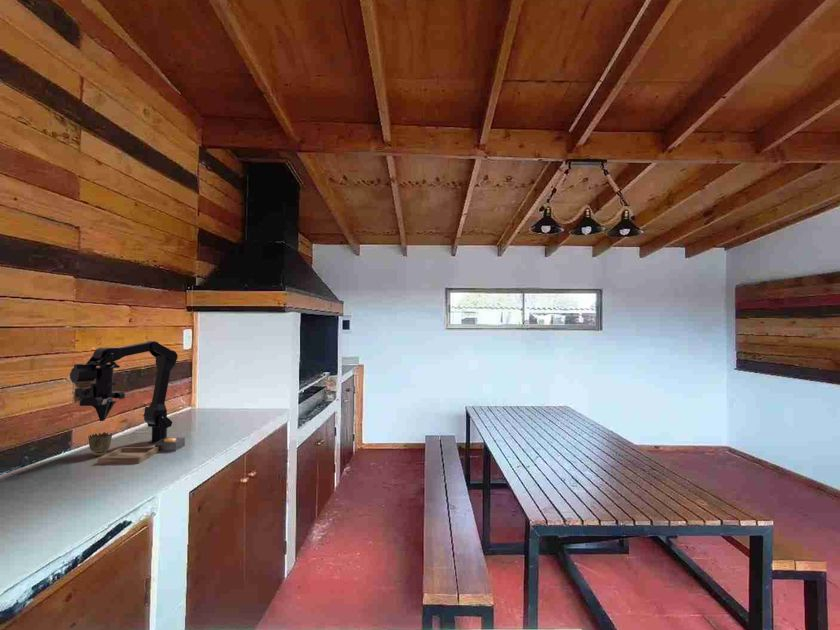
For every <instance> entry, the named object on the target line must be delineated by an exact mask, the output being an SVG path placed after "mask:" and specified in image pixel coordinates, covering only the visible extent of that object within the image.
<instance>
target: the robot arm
mask: <svg viewBox="0 0 840 630" xmlns="http://www.w3.org/2000/svg"><path fill="white" fill-rule="evenodd" d="M147 352H148V353H150V355H151V356H153V357H154V358H155V365H156V368H157V372H156V377H155V381H154V382H155V383H154V389H153V394H152V399H151V403H150V404H149V406H145V407H144V413H143V415H142V417H143V420H144V421H145V423H146V424H147V427H148V428H151V439H150V440H148V441H147V443H148V444H151V443H152V444H155V442H157V441H159V440H161V439H163V438H168V428H171V427H172V425H173V421H172V420H171V419H170V418H169V417H168V410H167V407H166V398H167V393H168V386H169V379H170V375H171V371H172V369H173V368H174V367H175V366H176V364H177V361H178V358H179V357H178V356H179V355H178V353H177V351H175V350H171V349H170V348H168V347H166V346H165V345H162V344H160V343H159V342H158V341H155V340H148V341H146V342H141V343H135V344H129V345H126V346H125V345H124V346H119V347H113V346H112V347H108V346H107V347H98V348H96V349H95V350H94V352H93V354H92V356H91V357H90V358H89V359H88V361H87V362H86V363H84V364H83V363H75V364H73V368H72V369H71V370H70V372H69V377H70V378H69V379H70V381H71V382H72V383H73V384H76V383H77V384H78V383H86V382H87V383H88V382H93V381H94V383H92V384H91V385H90V387H89V388H86V389H85V388H84V387H79V388H76V389H75V395H74V397H76V398H78V399H79V400H78V401H79V403H78V405H79V407H93V408H94V409H95V411H96V414H97V417H98V419H99V422H104V421H105V420H106V418H107V417H108V415H109V414H110V412H111V410H112V408H113V407H114V405H115V404H116V403H117V401H116V400H113V399H119V400H123V399H125V397H126V394H125V392H124V391H117V390H116V391H115V390H113V389H114V388H113V387H114V386H115V385H116V381H114V370H115V369H118V368H120V365H119V364H117V363H116V362H117V361H119V360H121V359H123V358H125V357H129V356H133V355H138V354H142V353H147Z"/></svg>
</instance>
